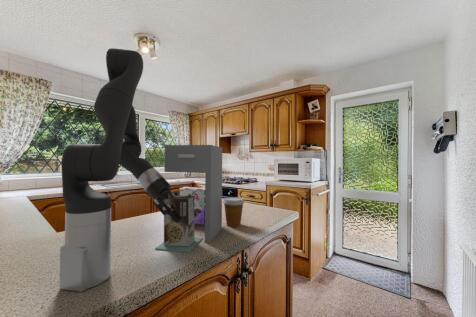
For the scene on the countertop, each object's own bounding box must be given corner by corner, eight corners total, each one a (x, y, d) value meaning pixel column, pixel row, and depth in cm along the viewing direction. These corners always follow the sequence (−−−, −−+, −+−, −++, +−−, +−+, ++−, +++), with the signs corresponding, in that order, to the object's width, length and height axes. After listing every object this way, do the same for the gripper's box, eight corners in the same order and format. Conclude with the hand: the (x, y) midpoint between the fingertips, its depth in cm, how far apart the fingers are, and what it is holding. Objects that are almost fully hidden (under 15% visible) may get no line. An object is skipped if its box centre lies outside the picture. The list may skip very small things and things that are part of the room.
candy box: (177, 223, 99) (178, 187, 99) (184, 219, 104) (184, 186, 104) (204, 225, 95) (205, 189, 95) (210, 222, 100) (210, 187, 100)
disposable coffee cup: (219, 227, 93) (220, 199, 93) (227, 221, 102) (227, 196, 102) (240, 229, 90) (240, 201, 90) (246, 223, 99) (246, 197, 99)
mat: (189, 252, 67) (189, 251, 67) (154, 249, 69) (154, 248, 69) (202, 238, 79) (202, 237, 79) (172, 236, 81) (172, 235, 81)
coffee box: (195, 239, 77) (195, 195, 77) (188, 247, 70) (188, 198, 70) (171, 238, 78) (171, 194, 78) (162, 245, 71) (163, 198, 71)
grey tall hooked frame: (209, 243, 74) (210, 144, 74) (162, 240, 77) (163, 144, 78) (221, 228, 91) (222, 147, 91) (182, 225, 94) (183, 147, 94)
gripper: (149, 178, 69) (182, 216, 66) (171, 175, 83) (199, 206, 80) (134, 193, 69) (166, 231, 67) (158, 188, 84) (185, 219, 81)
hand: (184, 217), depth 74 cm, fingers open, 7 cm apart
